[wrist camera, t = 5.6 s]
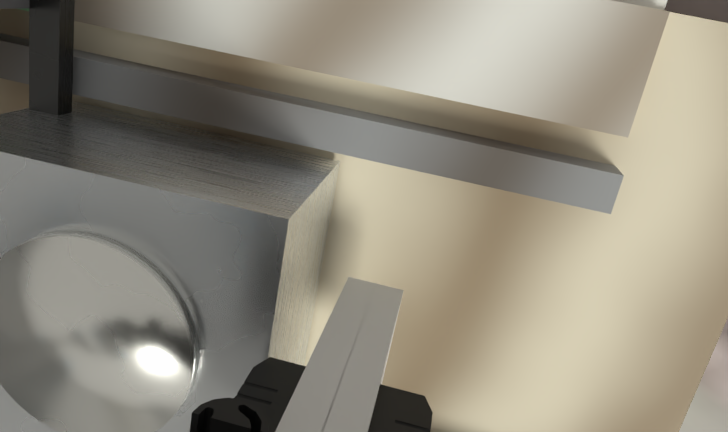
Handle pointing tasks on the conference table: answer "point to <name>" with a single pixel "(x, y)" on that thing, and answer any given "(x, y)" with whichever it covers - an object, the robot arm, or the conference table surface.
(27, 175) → the grey dimpled block
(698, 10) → the conference table surface
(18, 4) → the max marker
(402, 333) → the base
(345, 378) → the robot arm
